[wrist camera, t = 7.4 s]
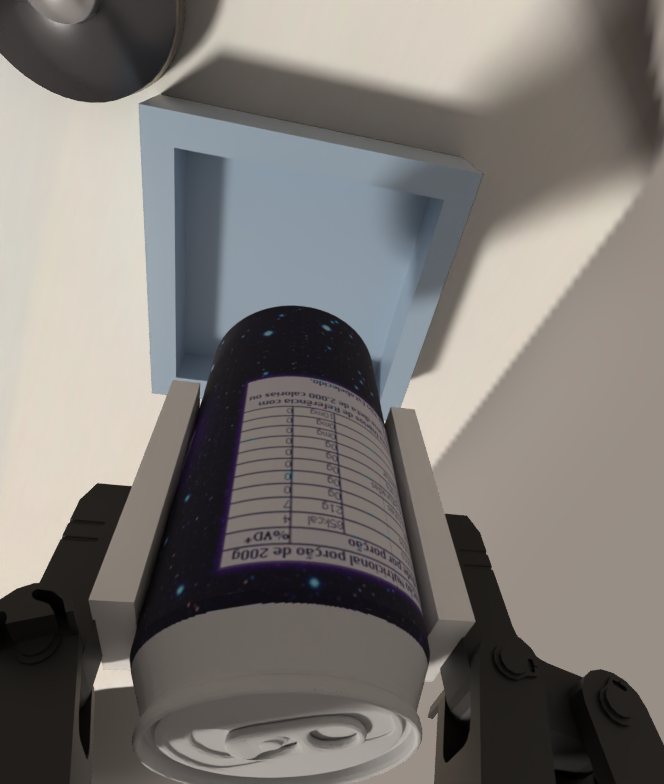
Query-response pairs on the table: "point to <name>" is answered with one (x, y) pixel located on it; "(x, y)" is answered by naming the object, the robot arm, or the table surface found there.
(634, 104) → the table surface
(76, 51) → the grey flat rectangular frame
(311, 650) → the beverage can
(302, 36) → the table surface
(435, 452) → the table surface
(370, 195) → the tray
